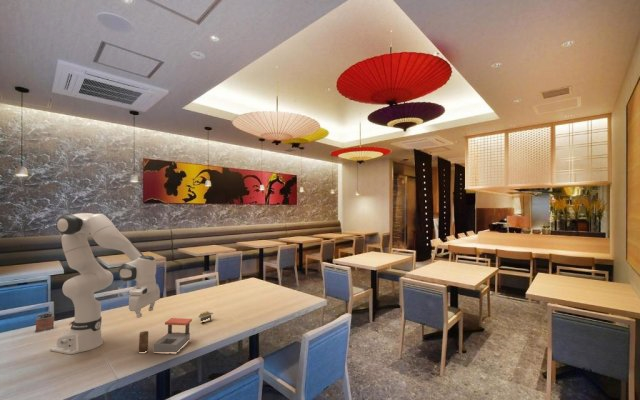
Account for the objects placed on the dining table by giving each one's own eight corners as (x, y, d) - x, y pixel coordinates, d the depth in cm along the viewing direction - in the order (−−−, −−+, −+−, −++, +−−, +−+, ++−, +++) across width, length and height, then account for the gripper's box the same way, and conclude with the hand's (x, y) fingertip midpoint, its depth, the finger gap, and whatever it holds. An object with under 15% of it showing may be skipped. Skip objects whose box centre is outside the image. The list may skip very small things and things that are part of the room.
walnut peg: (136, 354, 147) (137, 334, 147) (142, 350, 151) (142, 330, 151) (144, 354, 147) (145, 334, 147) (149, 350, 151) (150, 331, 151)
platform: (187, 324, 187) (187, 314, 187) (211, 316, 202) (211, 306, 202) (198, 329, 180) (198, 318, 180) (222, 320, 195) (222, 310, 195)
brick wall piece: (53, 327, 177) (54, 310, 177) (53, 328, 174) (54, 312, 175) (35, 330, 171) (36, 313, 172) (35, 332, 169) (36, 315, 169)
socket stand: (153, 353, 148) (154, 329, 148) (170, 339, 164) (171, 318, 164) (176, 354, 147) (177, 330, 148) (191, 340, 163) (192, 318, 164)
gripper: (152, 282, 161) (151, 307, 160) (126, 292, 140) (125, 321, 140) (163, 282, 161) (162, 307, 160) (139, 292, 140) (138, 321, 140)
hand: (145, 314), depth 150 cm, fingers open, 8 cm apart
